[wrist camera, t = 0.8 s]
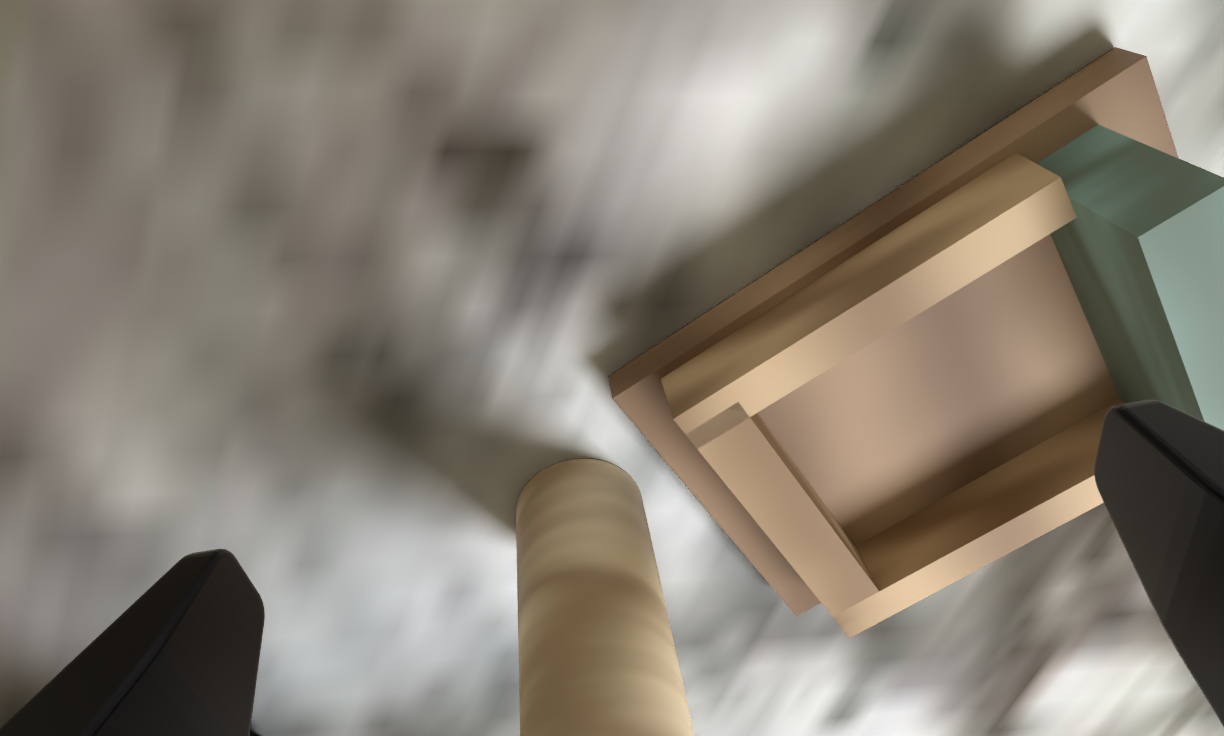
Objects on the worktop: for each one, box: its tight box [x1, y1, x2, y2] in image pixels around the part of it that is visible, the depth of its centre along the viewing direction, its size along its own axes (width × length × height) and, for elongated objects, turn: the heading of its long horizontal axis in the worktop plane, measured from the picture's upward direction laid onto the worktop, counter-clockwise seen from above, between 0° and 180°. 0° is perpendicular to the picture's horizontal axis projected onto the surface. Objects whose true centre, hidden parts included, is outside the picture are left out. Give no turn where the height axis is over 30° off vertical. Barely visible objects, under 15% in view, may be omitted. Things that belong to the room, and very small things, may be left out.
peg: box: [516, 458, 694, 736], centre depth 23 cm, size 4×4×10 cm
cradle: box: [608, 47, 1224, 638], centre depth 23 cm, size 16×11×6 cm
